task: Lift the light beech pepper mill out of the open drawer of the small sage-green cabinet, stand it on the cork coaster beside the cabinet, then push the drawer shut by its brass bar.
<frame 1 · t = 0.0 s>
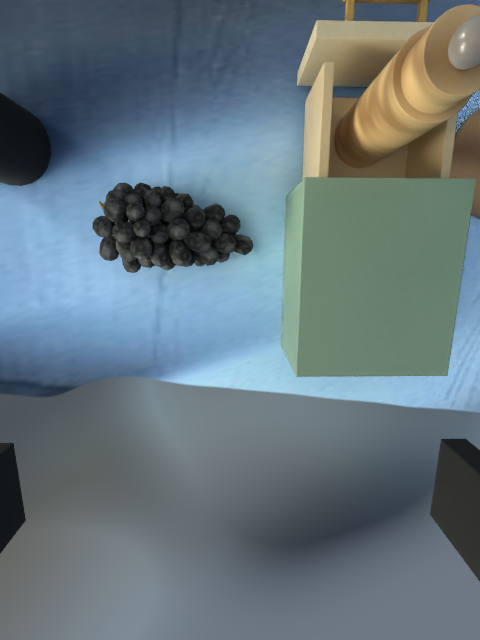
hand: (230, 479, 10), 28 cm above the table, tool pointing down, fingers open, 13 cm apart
wine bottle: (14, 146, 34), on the table
drawer: (372, 120, 29), point 5 cm above the table, slide at 10.0 cm, touching pepper mill
cabinet: (344, 275, 37), on the table
fruit: (183, 237, 36), on the table
pepper mill: (361, 138, 32), point 2 cm above the table, touching drawer
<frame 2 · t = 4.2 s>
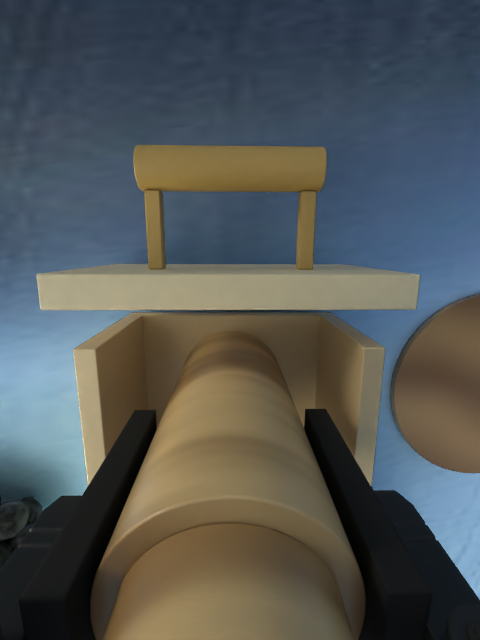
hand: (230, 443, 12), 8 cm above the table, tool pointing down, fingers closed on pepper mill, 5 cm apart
drawer: (231, 385, 15), point 5 cm above the table, slide at 10.0 cm, touching pepper mill
pepper mill: (231, 378, 18), point 2 cm above the table, touching drawer, gripper
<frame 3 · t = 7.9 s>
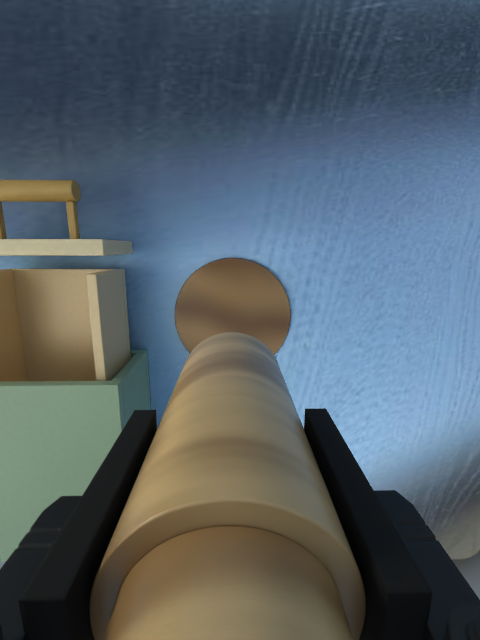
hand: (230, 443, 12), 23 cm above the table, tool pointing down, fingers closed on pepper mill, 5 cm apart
cork coaster: (232, 316, 34), on the table
drawer: (52, 304, 29), point 5 cm above the table, slide at 10.0 cm
cabinet: (89, 421, 37), on the table
pepper mill: (231, 379, 18), point 17 cm above the table, touching gripper
when the fingers open (7 cm above the table, at t = 11.7 s): pepper mill stays where it is, resting on cork coaster.
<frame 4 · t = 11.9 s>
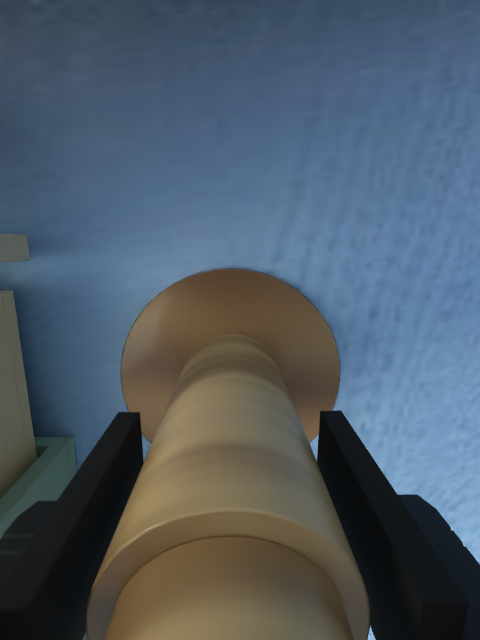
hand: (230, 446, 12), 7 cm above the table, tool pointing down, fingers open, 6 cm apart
cork coaster: (231, 376, 18), on the table
pepper mill: (231, 380, 18), point 1 cm above the table, touching cork coaster
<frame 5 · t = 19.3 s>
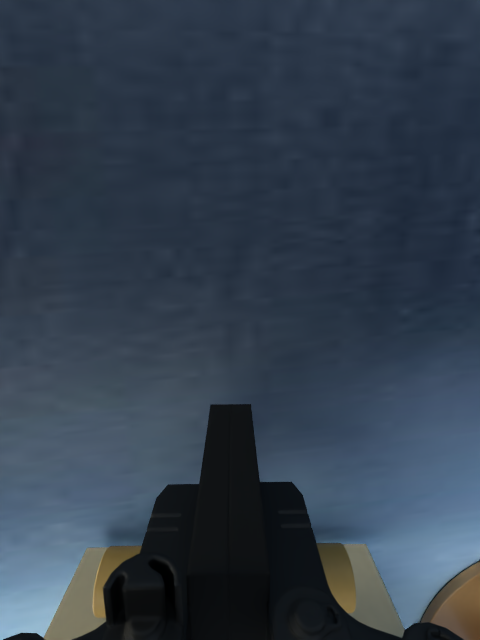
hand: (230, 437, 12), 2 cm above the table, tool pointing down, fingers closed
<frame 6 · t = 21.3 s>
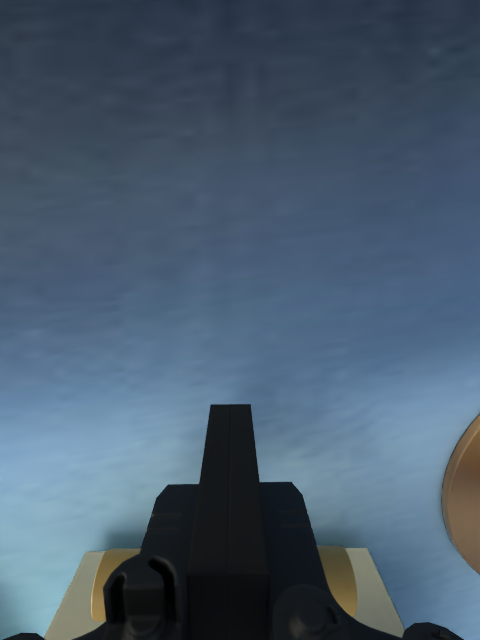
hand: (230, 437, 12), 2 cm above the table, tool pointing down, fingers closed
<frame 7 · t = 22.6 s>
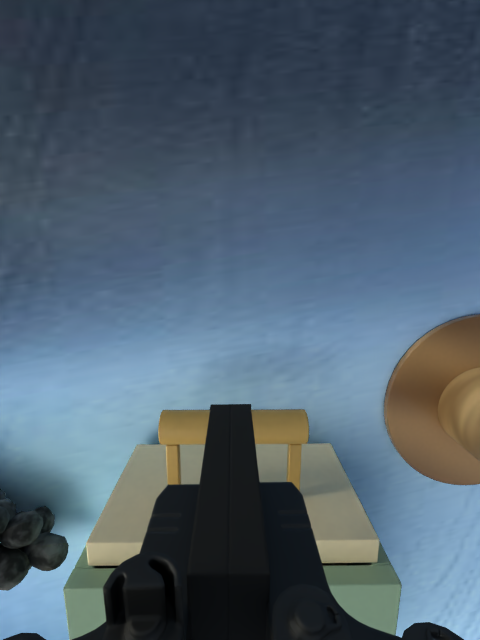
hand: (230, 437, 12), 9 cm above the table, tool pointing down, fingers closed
cork coaster: (472, 401, 22), on the table
drawer: (234, 567, 19), point 5 cm above the table, slide at 0.0 cm, touching cabinet
cabinet: (234, 554, 24), on the table
pepper mill: (478, 405, 21), resting on cork coaster
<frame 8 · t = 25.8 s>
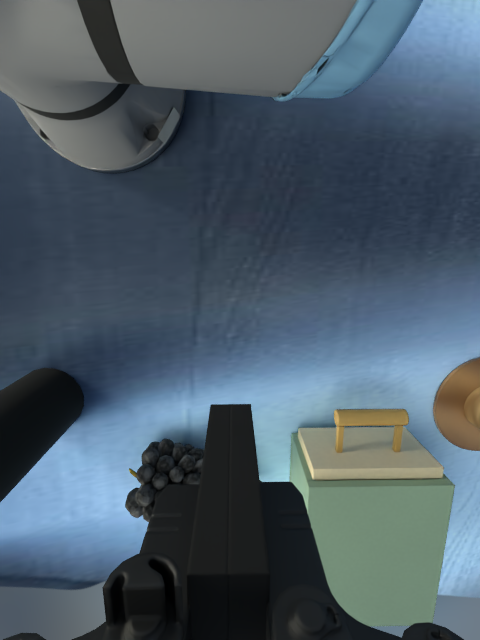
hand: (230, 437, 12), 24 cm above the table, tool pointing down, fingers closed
wine bottle: (51, 397, 38), on the table
drawer: (359, 490, 36), point 5 cm above the table, slide at 0.0 cm, touching cabinet
cabinet: (343, 492, 41), on the table
fruit: (200, 464, 40), on the table
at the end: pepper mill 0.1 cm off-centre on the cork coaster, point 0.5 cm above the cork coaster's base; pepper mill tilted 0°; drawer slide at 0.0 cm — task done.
